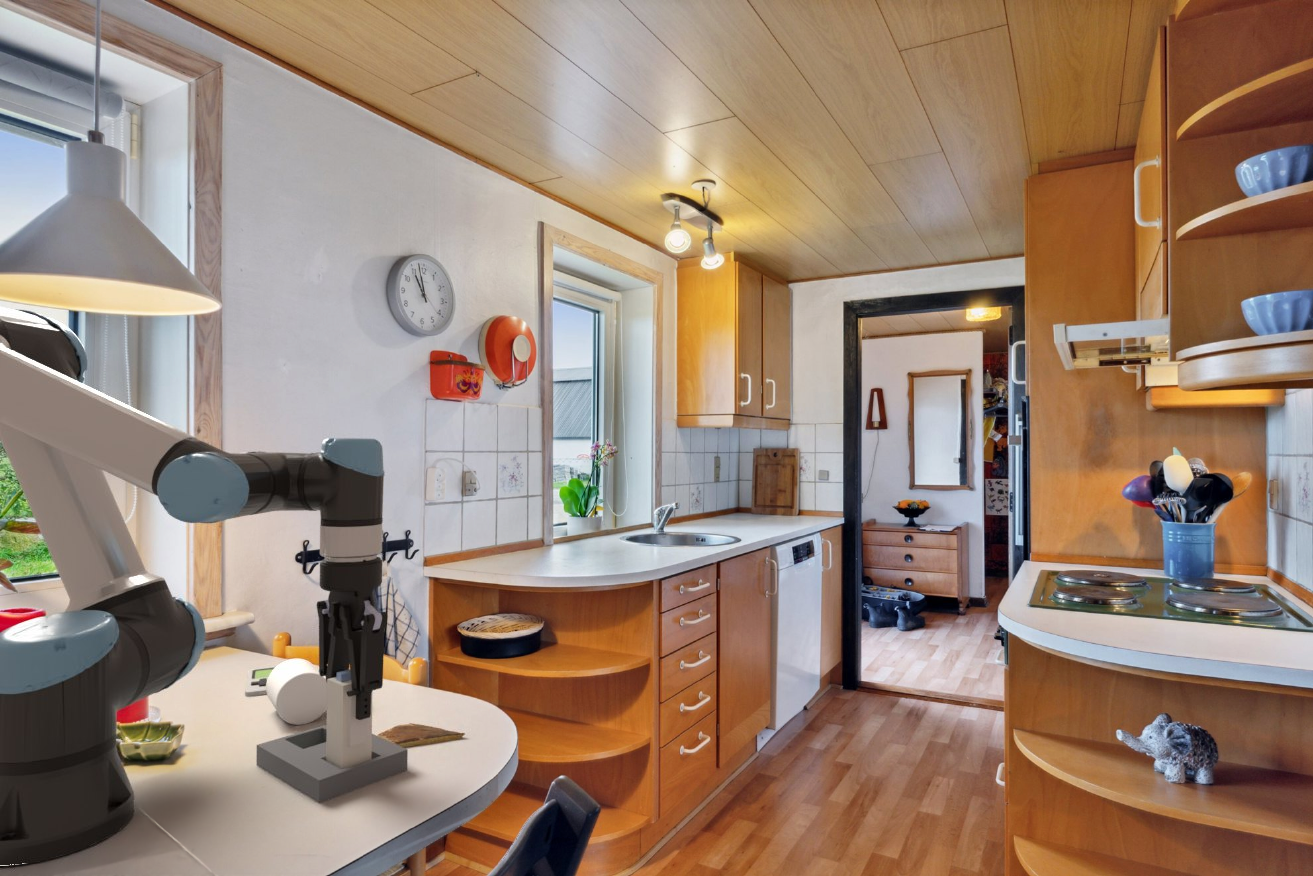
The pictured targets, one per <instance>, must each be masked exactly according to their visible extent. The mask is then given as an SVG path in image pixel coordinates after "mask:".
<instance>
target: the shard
mask: <svg viewBox="0 0 1313 876" xmlns="http://www.w3.org/2000/svg"><path fill="white" fill-rule="evenodd" d="M465 735H466V733H465V732H458V731H454V730H452V731H451V730H448V729H447V730H446V729H444V728H441V727H433V726H431V725H430V726H429V725H425V724H420V723H417V724H416V723H412V722H409V723H408V724H398V725H396V726H394V727H392V728H389V729H387V730H385V731H383V732H380V733H378V734H377V735H376V736H378V737H381V738H383V739H385V740H387V741H390V742H392V743H394V744H396V745H398V746H401V747H403V748H409V747H414V746H422V745H429V744H435V743H437V744H438V743H443V742H447V741H450V740H451V741H453V740H454V741H455V740H458V739H462V738H463V736H465Z"/></svg>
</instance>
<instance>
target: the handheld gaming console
mask: <svg viewBox="0 0 1313 876" xmlns="http://www.w3.org/2000/svg"><path fill="white" fill-rule="evenodd" d="M276 666H277V665H276ZM276 666H275V665H273V666H266V667H258V668H251V669H248V670H247V675H246V681H245V687H244V696H245V697H247V698H249V697H256V696H263V695H264V696H265V695H267V692H266V683H267V679H268V677H269V675H270V673H271V672H272V671H273V669H274V668H275V667H276Z"/></svg>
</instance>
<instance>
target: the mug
mask: <svg viewBox="0 0 1313 876" xmlns="http://www.w3.org/2000/svg"><path fill="white" fill-rule="evenodd" d="M266 692H267V694H266V695H267V697H268V700H270V702H271V704H272V706H273V707H274V709H275V711H276V712H277V714H278V716H279V717H280V719H282V720H283V721H285V723H287V724H290V725H295V726H296V725H297V726H302V725H307V724H310V723H313V722H315V721H316V720H318V719H319V718H320V717H321V716H323V714H324V713H325V712H327V682H326V677H325V676H322V677H321V676H320V674H319V669H318V668H317V667H316V666H315V665H314V663H312V662H310V661H309V660H307V659H304V658H290V659H287V660H284V661H283V662H281V663H279V664H278V665H276V667H275V668H274V669H273V671H272V672H271V673H270V675H269V677H268V679H267V683H266Z"/></svg>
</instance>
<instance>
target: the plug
mask: <svg viewBox="0 0 1313 876" xmlns="http://www.w3.org/2000/svg"><path fill="white" fill-rule="evenodd" d="M351 690H352V684H351V673H350V669H349V670H345V671H341V672H337V677H334V678H330V679H327V709H326V724H327V737H326V761H327V762H329V763H330V764H332V765H334V766H336V767H338V768H340V769H345V768H348V767H351V766H353V765H356V764H359V763H362V762H365V761H368V760H371V758H372V734H373V692H372V693H371V715H370V741H367V742H364V743H361V744H358V745H355V746H352V747H349V746H347V730H348V695H347V691H351Z"/></svg>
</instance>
